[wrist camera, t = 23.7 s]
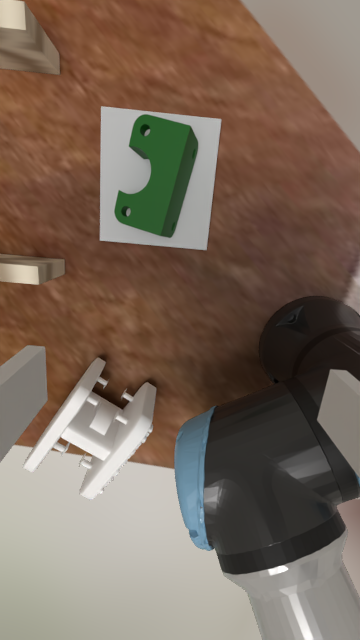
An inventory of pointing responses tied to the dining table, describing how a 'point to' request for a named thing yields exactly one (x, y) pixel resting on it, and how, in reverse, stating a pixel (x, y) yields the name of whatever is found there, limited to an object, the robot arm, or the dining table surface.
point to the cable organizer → (97, 429)
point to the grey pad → (134, 173)
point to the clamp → (159, 175)
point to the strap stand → (34, 56)
